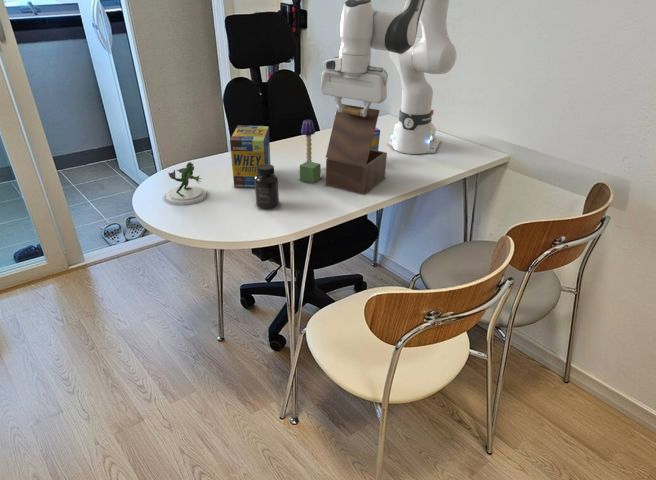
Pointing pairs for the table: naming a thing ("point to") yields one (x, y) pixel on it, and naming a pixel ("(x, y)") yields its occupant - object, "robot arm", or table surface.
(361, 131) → the chest lid
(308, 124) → the toy lamp
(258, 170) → the supplement bottle
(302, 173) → the green toy block
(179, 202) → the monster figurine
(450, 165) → the table surface
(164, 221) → the table surface
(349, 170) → the chest
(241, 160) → the protein box
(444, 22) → the robot arm
